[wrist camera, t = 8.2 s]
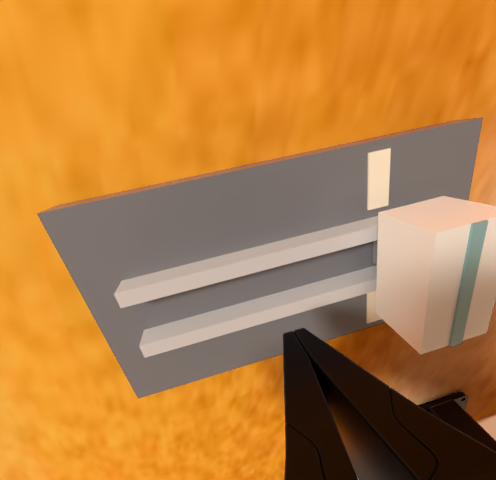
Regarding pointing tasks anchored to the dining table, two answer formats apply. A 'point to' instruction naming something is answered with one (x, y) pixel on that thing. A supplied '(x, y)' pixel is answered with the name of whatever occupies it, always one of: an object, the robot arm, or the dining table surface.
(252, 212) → the grey slider panel
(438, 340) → the block
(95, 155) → the dining table surface
